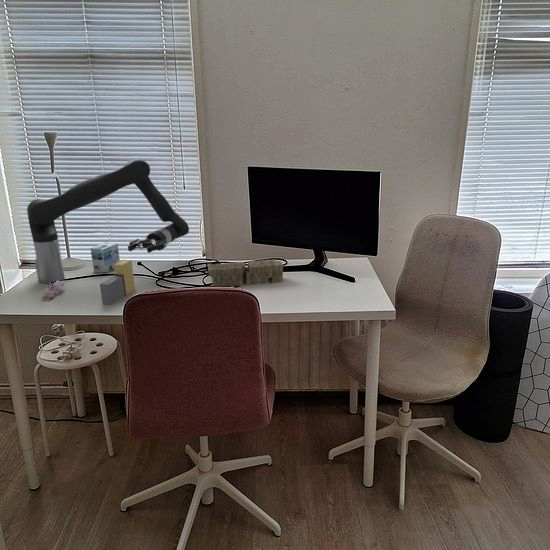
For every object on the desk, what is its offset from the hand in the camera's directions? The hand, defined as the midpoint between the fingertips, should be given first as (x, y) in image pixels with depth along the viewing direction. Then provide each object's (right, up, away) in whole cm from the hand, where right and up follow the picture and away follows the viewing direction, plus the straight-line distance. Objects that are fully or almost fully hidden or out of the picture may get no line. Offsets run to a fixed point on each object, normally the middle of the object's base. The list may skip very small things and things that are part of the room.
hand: (138, 249), depth 195 cm
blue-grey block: (-5, -19, -13) cm, 24 cm away
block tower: (+42, -13, +4) cm, 44 cm away
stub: (-3, -17, -5) cm, 18 cm away
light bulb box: (-20, -8, +23) cm, 31 cm away
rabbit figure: (-30, -18, -6) cm, 36 cm away
